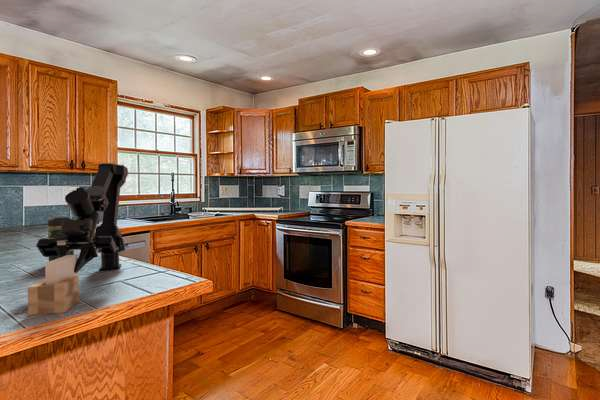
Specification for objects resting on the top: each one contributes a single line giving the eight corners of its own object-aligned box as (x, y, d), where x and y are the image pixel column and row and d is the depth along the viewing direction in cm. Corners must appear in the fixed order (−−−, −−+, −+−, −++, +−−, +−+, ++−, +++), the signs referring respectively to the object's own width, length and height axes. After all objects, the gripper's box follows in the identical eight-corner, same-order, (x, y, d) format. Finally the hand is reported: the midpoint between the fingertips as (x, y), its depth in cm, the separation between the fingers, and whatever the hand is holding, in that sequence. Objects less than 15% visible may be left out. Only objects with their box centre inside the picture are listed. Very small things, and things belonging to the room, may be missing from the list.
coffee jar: (76, 265, 130) (74, 216, 129) (50, 268, 125) (48, 217, 124) (72, 260, 137) (71, 214, 137) (47, 263, 132) (46, 215, 132)
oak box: (47, 302, 88) (46, 277, 88) (79, 300, 90) (78, 275, 89) (28, 314, 80) (27, 287, 80) (64, 312, 81) (63, 285, 81)
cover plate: (68, 294, 94) (67, 254, 94) (78, 294, 95) (77, 254, 95) (46, 308, 83) (45, 263, 83) (57, 308, 83) (56, 262, 83)
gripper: (38, 209, 95) (16, 257, 85) (112, 208, 99) (99, 253, 89) (53, 234, 103) (34, 280, 93) (121, 232, 107) (110, 276, 97)
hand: (69, 272), depth 92 cm, fingers closed on cover plate, 2 cm apart
